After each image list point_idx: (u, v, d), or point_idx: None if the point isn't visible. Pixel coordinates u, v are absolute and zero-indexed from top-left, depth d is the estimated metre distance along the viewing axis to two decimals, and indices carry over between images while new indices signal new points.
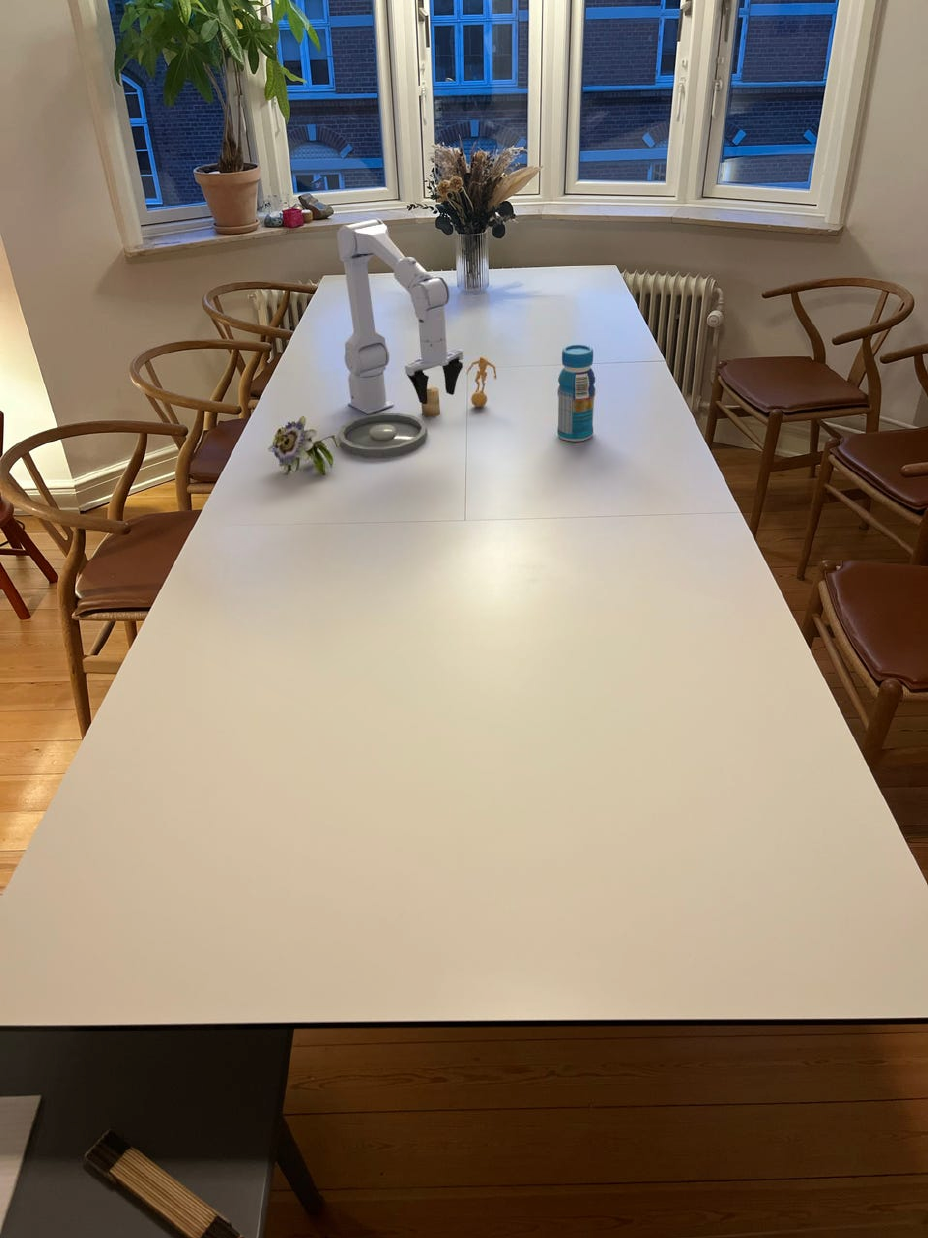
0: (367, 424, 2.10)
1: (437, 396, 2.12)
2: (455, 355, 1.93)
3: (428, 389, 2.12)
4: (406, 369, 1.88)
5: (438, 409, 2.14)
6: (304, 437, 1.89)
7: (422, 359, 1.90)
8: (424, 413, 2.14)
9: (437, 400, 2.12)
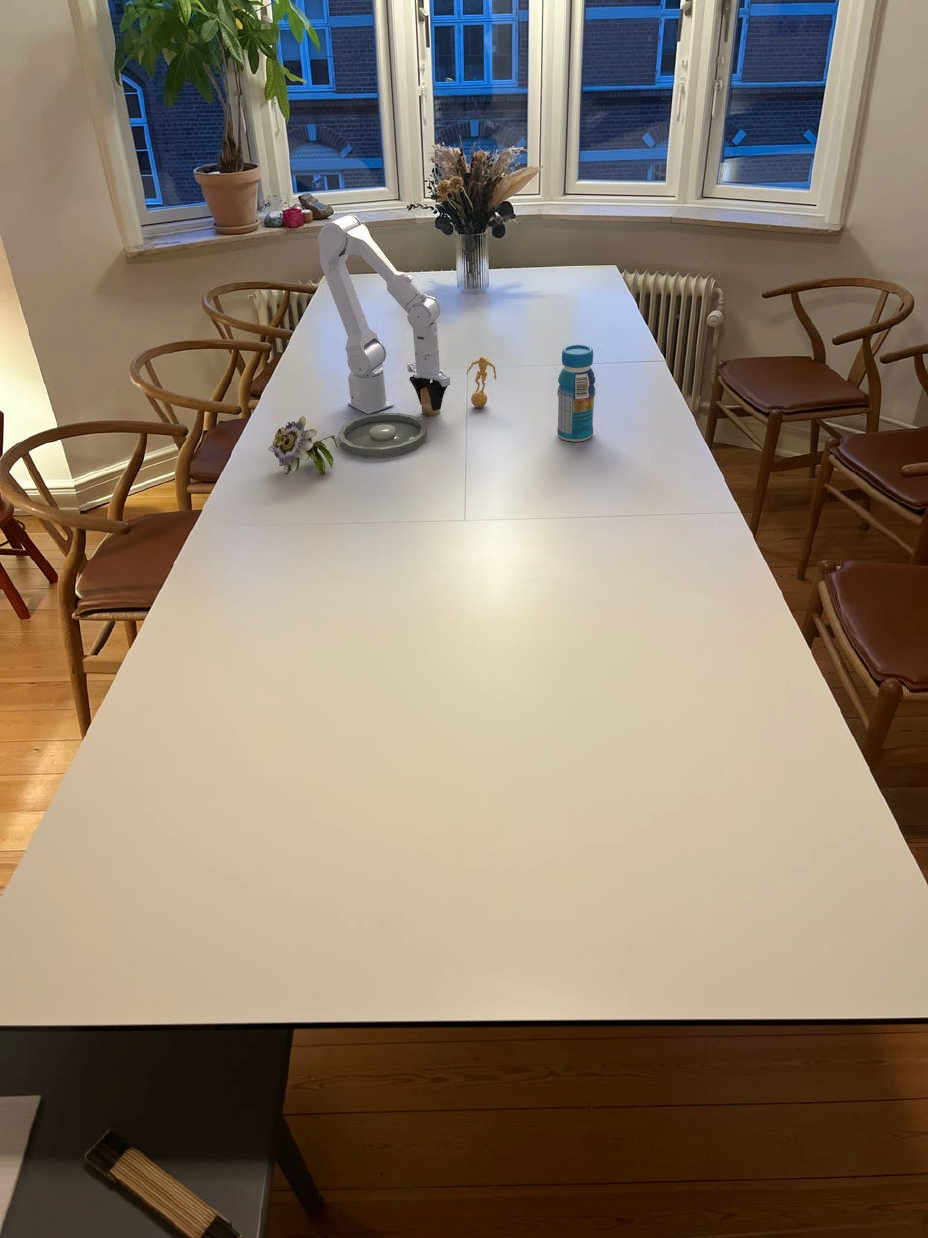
0: (367, 424, 2.10)
1: None
2: (434, 378, 2.06)
3: None
4: None
5: None
6: (304, 437, 1.89)
7: None
8: (424, 413, 2.14)
9: None
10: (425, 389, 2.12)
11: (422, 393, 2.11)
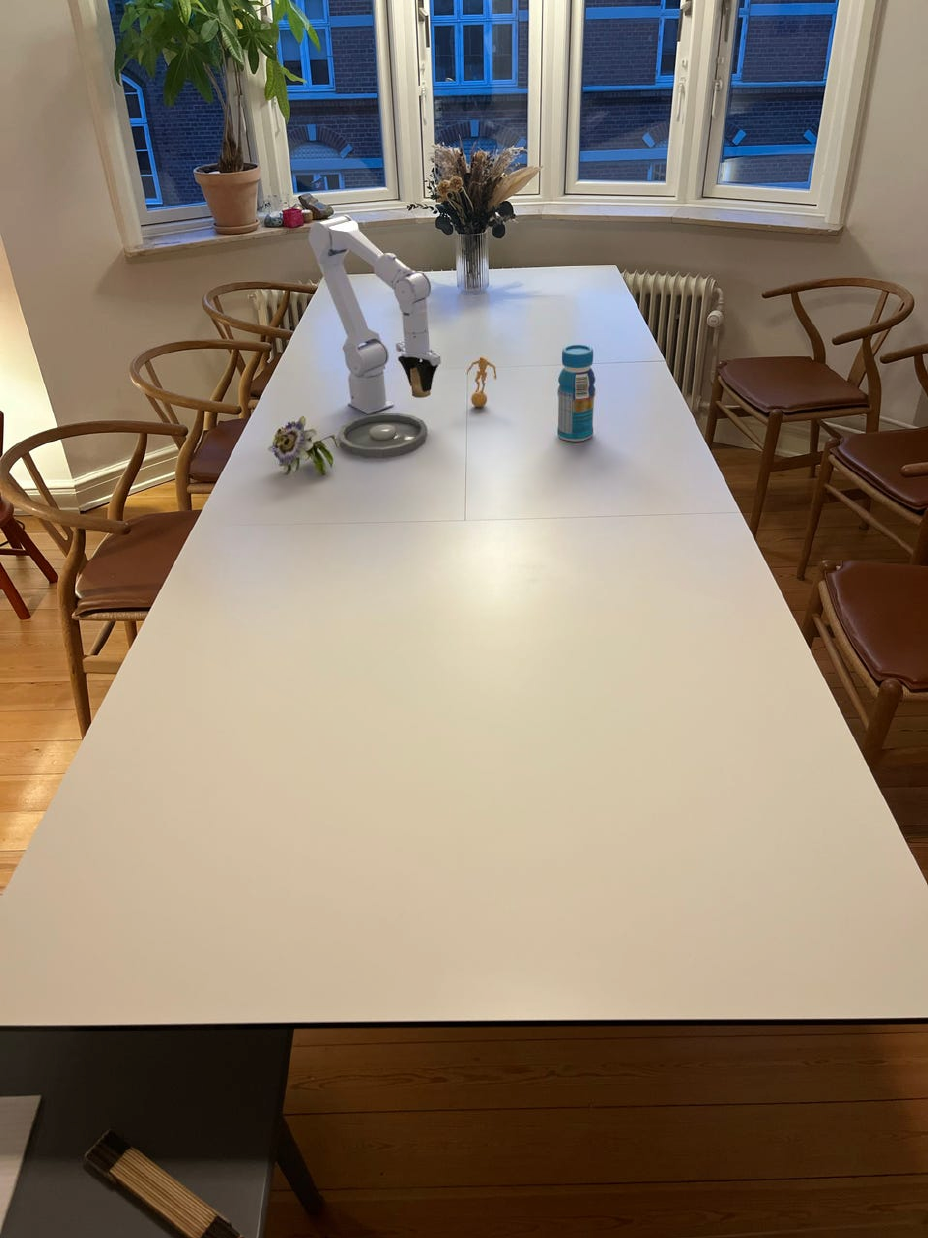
0: (367, 424, 2.10)
1: None
2: (424, 356, 1.98)
3: None
4: None
5: (429, 390, 2.06)
6: (304, 437, 1.89)
7: None
8: (414, 394, 2.06)
9: None
10: (415, 369, 2.04)
11: (412, 373, 2.03)
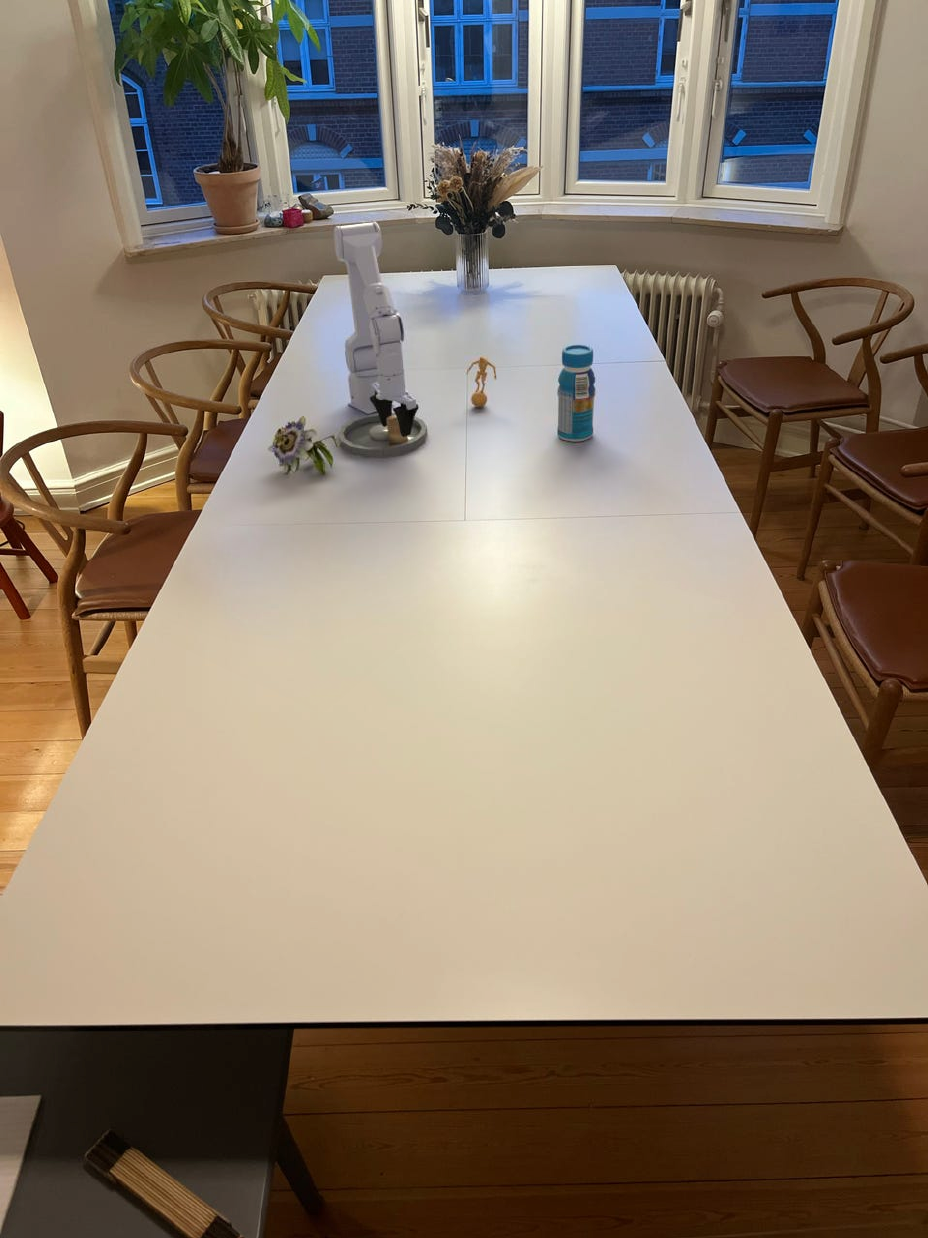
0: (367, 424, 2.10)
1: None
2: (399, 400, 1.89)
3: (395, 418, 1.97)
4: None
5: (406, 439, 1.99)
6: (304, 437, 1.89)
7: None
8: (391, 444, 1.99)
9: None
10: (391, 418, 1.97)
11: (388, 423, 1.96)
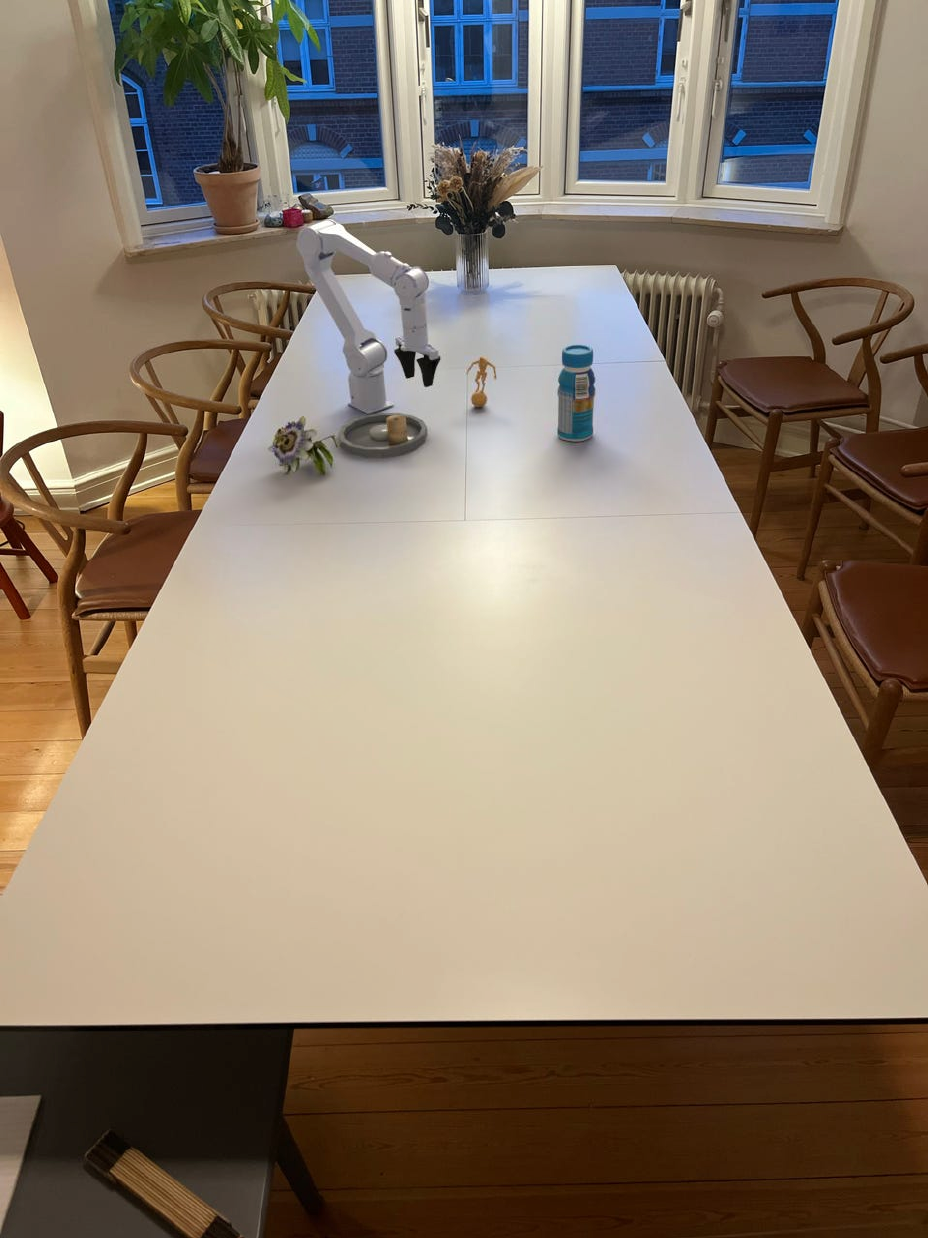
0: (367, 424, 2.10)
1: (405, 425, 1.97)
2: (422, 351, 2.01)
3: (395, 418, 1.97)
4: None
5: (406, 439, 1.99)
6: (304, 437, 1.89)
7: None
8: (391, 444, 1.99)
9: (405, 430, 1.98)
10: (391, 418, 1.97)
11: (388, 423, 1.96)
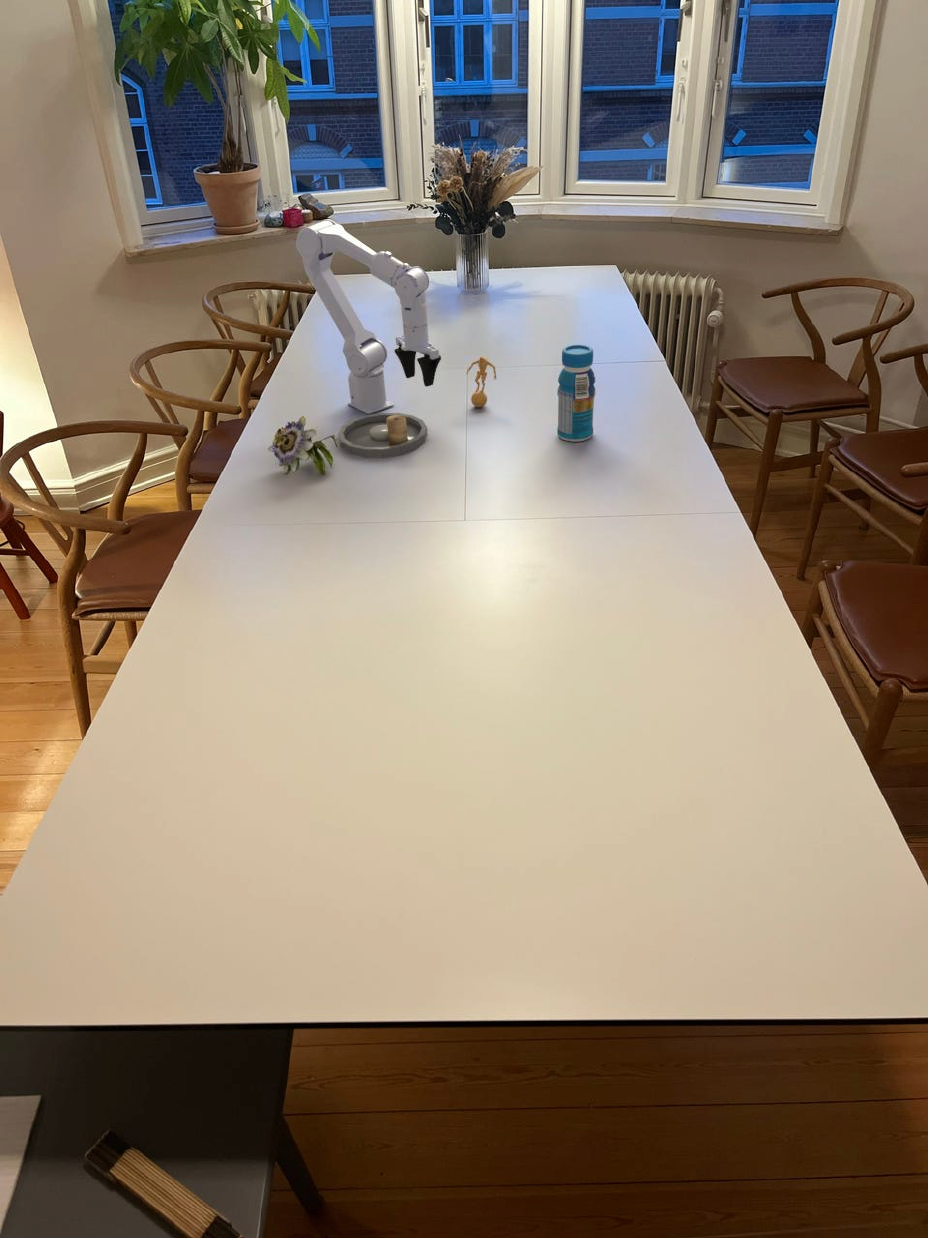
0: (367, 424, 2.10)
1: (405, 425, 1.97)
2: (423, 350, 2.01)
3: (395, 418, 1.97)
4: None
5: (406, 439, 1.99)
6: (304, 437, 1.89)
7: None
8: (391, 444, 1.99)
9: (405, 430, 1.98)
10: (391, 418, 1.97)
11: (388, 423, 1.96)
